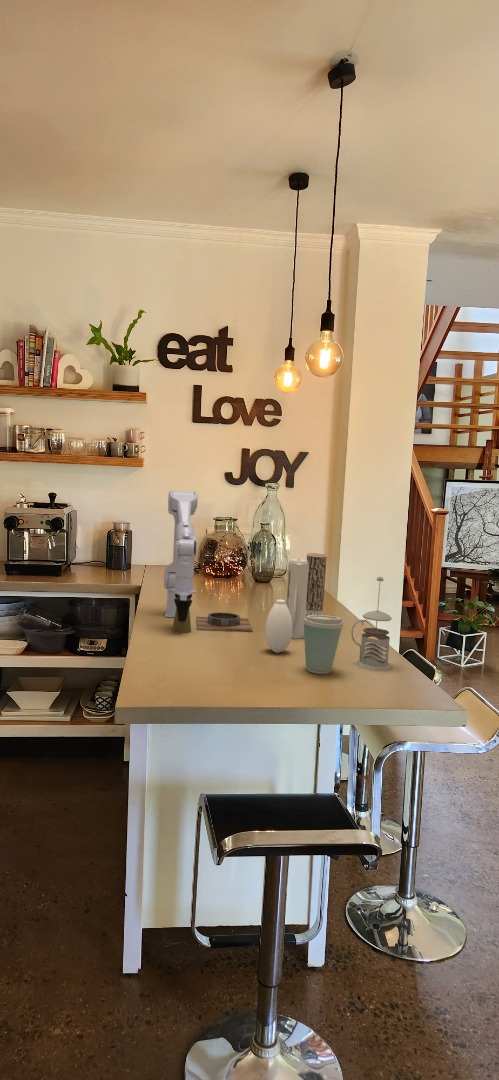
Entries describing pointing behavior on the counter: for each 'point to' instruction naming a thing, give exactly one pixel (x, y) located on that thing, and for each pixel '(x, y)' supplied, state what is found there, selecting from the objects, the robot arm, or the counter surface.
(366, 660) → the french press
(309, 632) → the disposable coffee cup
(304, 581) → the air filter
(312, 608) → the grey patterned cylinder
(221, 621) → the collar
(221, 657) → the counter surface
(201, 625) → the walnut mat
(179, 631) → the cork
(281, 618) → the white vase
